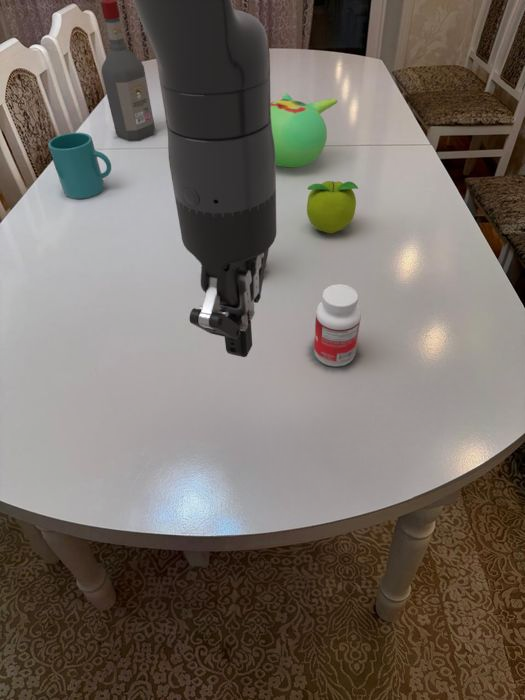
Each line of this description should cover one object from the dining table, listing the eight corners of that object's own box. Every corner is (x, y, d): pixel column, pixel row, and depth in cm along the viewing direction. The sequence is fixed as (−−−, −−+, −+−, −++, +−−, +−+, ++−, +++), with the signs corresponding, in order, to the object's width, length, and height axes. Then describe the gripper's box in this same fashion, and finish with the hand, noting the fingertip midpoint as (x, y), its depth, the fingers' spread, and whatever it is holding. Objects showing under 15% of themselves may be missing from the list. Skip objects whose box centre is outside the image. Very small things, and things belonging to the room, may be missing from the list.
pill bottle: (322, 334, 77) (327, 276, 69) (360, 345, 75) (369, 287, 67) (307, 360, 73) (309, 302, 65) (346, 373, 71) (354, 314, 63)
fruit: (351, 243, 94) (357, 194, 87) (303, 239, 96) (304, 191, 89) (355, 218, 101) (360, 171, 94) (309, 215, 102) (311, 168, 95)
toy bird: (238, 164, 120) (234, 100, 109) (282, 141, 129) (282, 79, 118) (297, 186, 111) (299, 117, 101) (340, 159, 120) (346, 94, 110)
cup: (112, 199, 109) (98, 149, 101) (58, 200, 110) (41, 149, 102) (122, 180, 116) (110, 131, 108) (71, 181, 116) (56, 132, 108)
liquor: (159, 132, 135) (136, 0, 114) (133, 143, 131) (104, 7, 110) (138, 124, 140) (112, -4, 119) (112, 135, 135) (80, 3, 114)
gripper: (239, 238, 31) (252, 410, 43) (299, 152, 40) (295, 315, 52) (134, 221, 33) (175, 390, 45) (213, 142, 42) (229, 302, 54)
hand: (239, 350), depth 49 cm, fingers closed
